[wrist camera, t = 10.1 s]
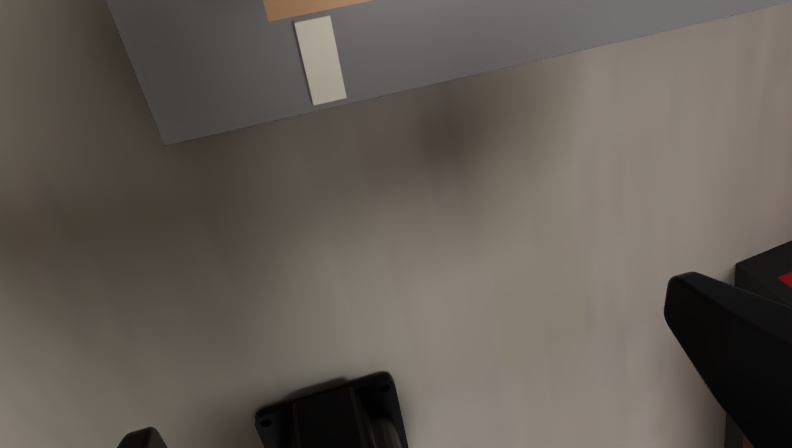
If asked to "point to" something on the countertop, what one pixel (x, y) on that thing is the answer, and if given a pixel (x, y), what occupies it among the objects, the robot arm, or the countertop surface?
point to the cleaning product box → (770, 278)
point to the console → (358, 49)
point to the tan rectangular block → (301, 7)
